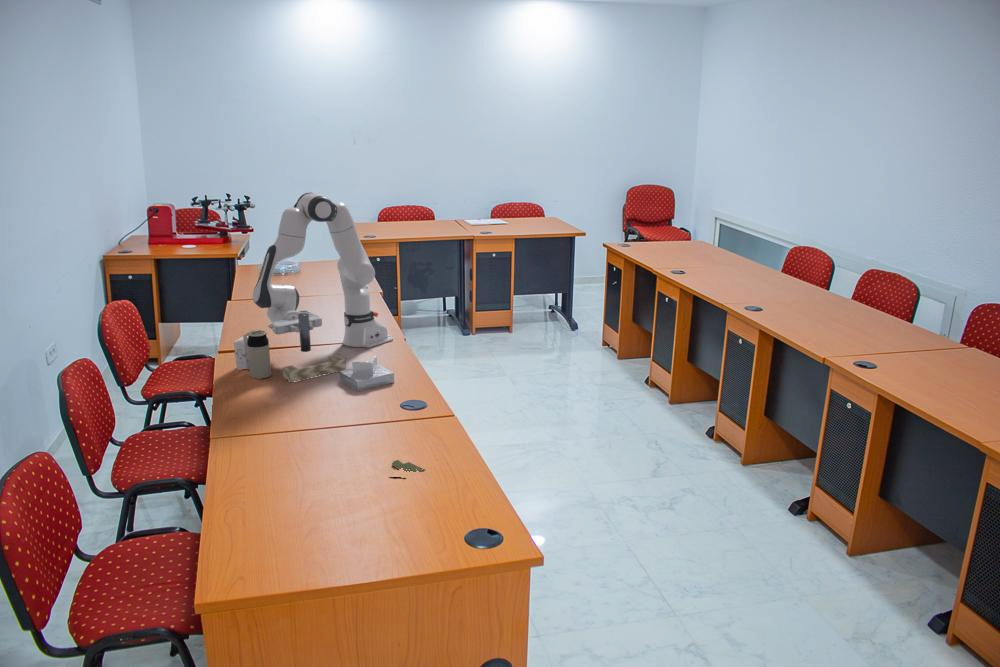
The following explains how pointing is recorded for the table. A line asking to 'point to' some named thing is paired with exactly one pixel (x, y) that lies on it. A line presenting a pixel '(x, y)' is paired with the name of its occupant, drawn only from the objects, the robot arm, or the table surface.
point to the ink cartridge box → (242, 352)
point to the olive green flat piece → (406, 466)
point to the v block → (366, 375)
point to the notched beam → (314, 369)
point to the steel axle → (304, 332)
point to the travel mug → (258, 354)
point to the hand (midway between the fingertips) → (305, 329)
